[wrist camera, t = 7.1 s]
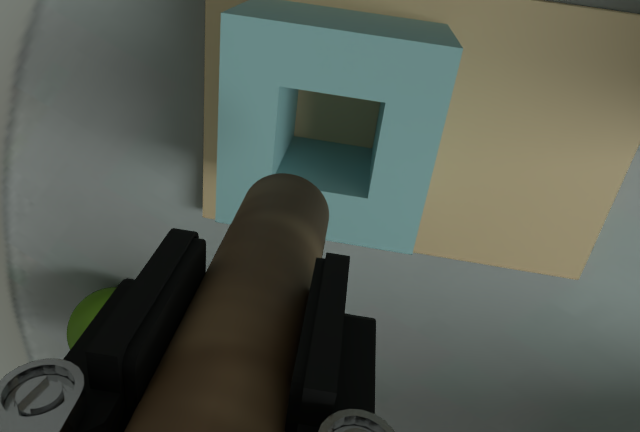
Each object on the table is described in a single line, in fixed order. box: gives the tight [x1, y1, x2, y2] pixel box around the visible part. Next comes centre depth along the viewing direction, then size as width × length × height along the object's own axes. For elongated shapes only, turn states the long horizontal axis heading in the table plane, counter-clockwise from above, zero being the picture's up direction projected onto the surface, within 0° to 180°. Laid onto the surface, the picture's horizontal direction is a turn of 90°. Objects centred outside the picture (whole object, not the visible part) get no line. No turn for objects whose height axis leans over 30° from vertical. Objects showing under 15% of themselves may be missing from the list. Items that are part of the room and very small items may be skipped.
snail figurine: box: [67, 287, 117, 350], centre depth 30 cm, size 5×6×12 cm
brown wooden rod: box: [124, 173, 329, 432], centre depth 9 cm, size 3×3×14 cm
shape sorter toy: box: [203, 0, 640, 280], centre depth 25 cm, size 22×14×7 cm, turn 83°
